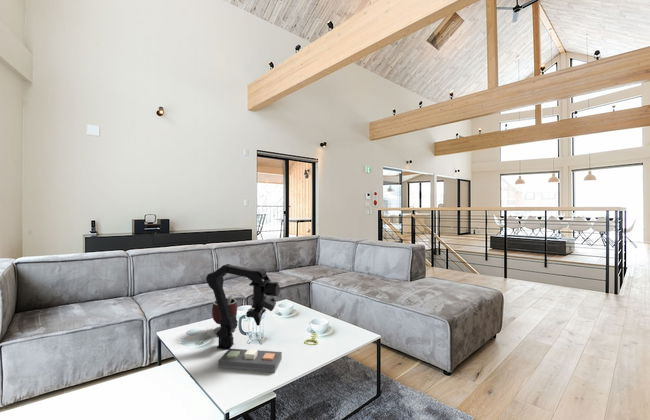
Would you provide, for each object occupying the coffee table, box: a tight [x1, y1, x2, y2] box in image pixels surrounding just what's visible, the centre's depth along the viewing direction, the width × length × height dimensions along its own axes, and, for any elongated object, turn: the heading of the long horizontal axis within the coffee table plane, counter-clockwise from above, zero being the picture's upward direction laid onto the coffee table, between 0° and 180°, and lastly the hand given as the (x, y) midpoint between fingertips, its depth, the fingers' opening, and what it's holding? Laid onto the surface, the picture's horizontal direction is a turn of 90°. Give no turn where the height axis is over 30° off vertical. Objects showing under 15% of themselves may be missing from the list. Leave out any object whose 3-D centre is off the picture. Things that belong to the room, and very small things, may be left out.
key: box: [304, 332, 319, 346], centre depth 169 cm, size 7×12×2 cm, turn 2°
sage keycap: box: [227, 351, 240, 358], centre depth 144 cm, size 5×5×2 cm
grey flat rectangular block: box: [217, 347, 283, 374], centre depth 143 cm, size 26×12×4 cm, turn 84°
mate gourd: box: [211, 292, 238, 335], centre depth 181 cm, size 16×14×20 cm
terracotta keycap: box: [263, 353, 275, 361], centre depth 142 cm, size 5×5×2 cm
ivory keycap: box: [244, 348, 259, 359], centre depth 143 cm, size 5×5×2 cm
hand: (258, 325), depth 156 cm, fingers closed
